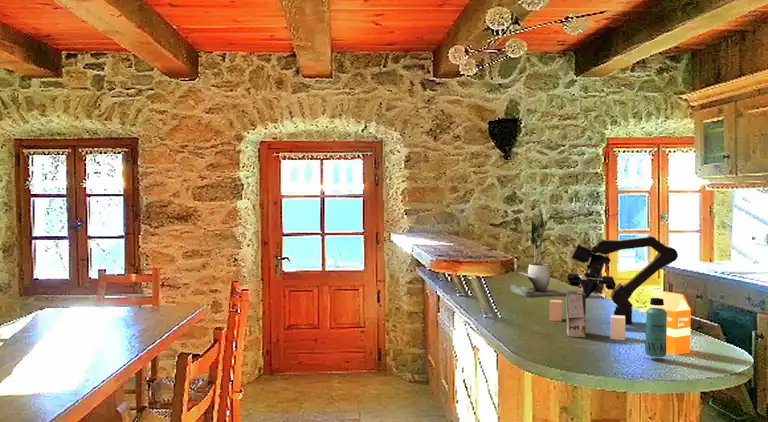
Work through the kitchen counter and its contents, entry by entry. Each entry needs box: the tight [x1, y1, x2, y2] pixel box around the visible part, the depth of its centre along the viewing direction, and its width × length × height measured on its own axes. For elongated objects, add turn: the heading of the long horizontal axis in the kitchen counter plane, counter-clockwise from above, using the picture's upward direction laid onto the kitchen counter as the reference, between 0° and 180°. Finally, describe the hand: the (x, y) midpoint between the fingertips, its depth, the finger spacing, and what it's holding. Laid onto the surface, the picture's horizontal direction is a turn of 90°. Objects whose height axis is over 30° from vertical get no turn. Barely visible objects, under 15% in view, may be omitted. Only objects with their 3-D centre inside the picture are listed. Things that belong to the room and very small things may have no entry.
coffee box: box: [565, 290, 587, 338], centre depth 243 cm, size 9×6×16 cm
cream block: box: [609, 314, 626, 341], centre depth 238 cm, size 5×5×8 cm
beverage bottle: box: [644, 297, 668, 358], centre depth 207 cm, size 6×7×20 cm
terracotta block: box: [548, 299, 563, 322], centre depth 271 cm, size 5×5×8 cm
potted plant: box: [509, 208, 565, 298], centre depth 339 cm, size 22×19×45 cm
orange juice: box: [653, 290, 692, 356], centre depth 219 cm, size 8×9×20 cm
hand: (585, 298), depth 258 cm, fingers closed
